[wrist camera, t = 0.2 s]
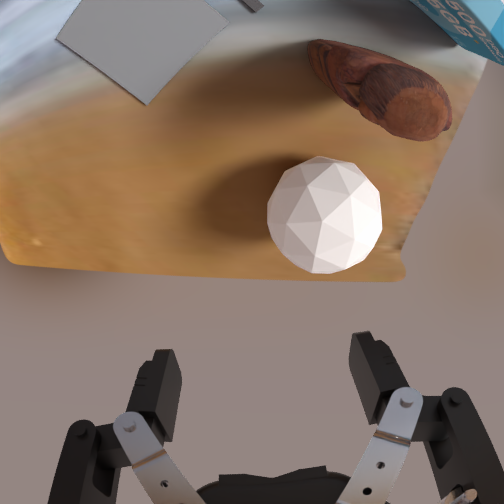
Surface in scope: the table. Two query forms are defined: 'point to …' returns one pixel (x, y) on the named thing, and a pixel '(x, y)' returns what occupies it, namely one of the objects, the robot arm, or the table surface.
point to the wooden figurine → (383, 89)
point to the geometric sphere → (324, 215)
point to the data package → (470, 24)
